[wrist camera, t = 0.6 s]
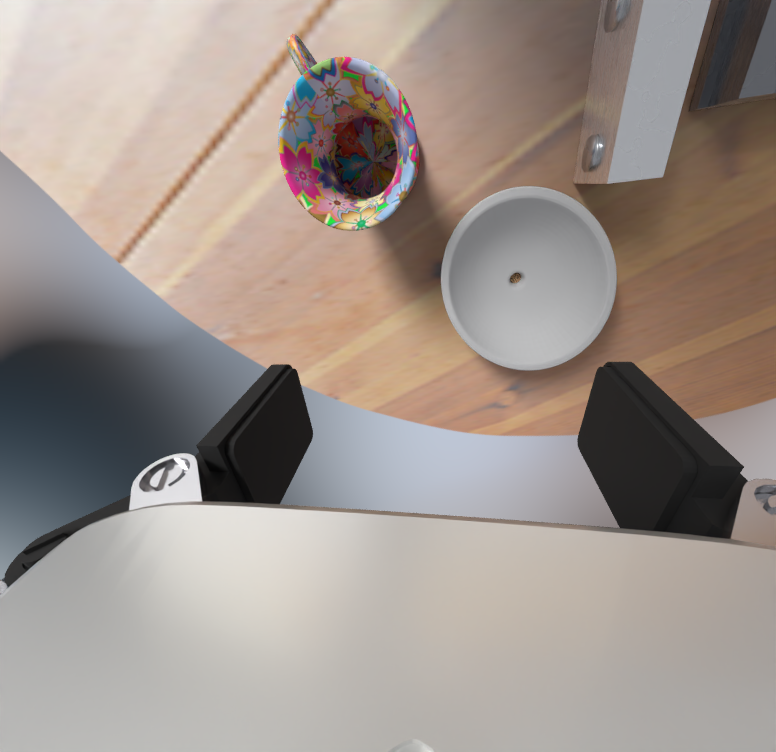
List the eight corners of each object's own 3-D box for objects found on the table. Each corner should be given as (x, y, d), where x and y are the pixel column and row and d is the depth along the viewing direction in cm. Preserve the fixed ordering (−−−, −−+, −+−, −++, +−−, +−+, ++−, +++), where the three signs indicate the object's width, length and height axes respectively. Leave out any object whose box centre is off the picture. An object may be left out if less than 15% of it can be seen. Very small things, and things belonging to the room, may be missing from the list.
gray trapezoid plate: (597, -12, 23) (652, -80, 17) (658, -26, 22) (738, -101, 16) (568, 183, 29) (601, 184, 23) (616, 178, 28) (662, 177, 22)
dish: (618, 308, 34) (643, 327, 29) (491, 370, 39) (497, 393, 35) (549, 143, 27) (569, 136, 23) (410, 245, 33) (406, 255, 29)
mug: (442, 181, 30) (442, 181, 21) (361, 235, 33) (331, 255, 24) (373, 29, 25) (336, -54, 16) (288, 110, 29) (219, 79, 20)
